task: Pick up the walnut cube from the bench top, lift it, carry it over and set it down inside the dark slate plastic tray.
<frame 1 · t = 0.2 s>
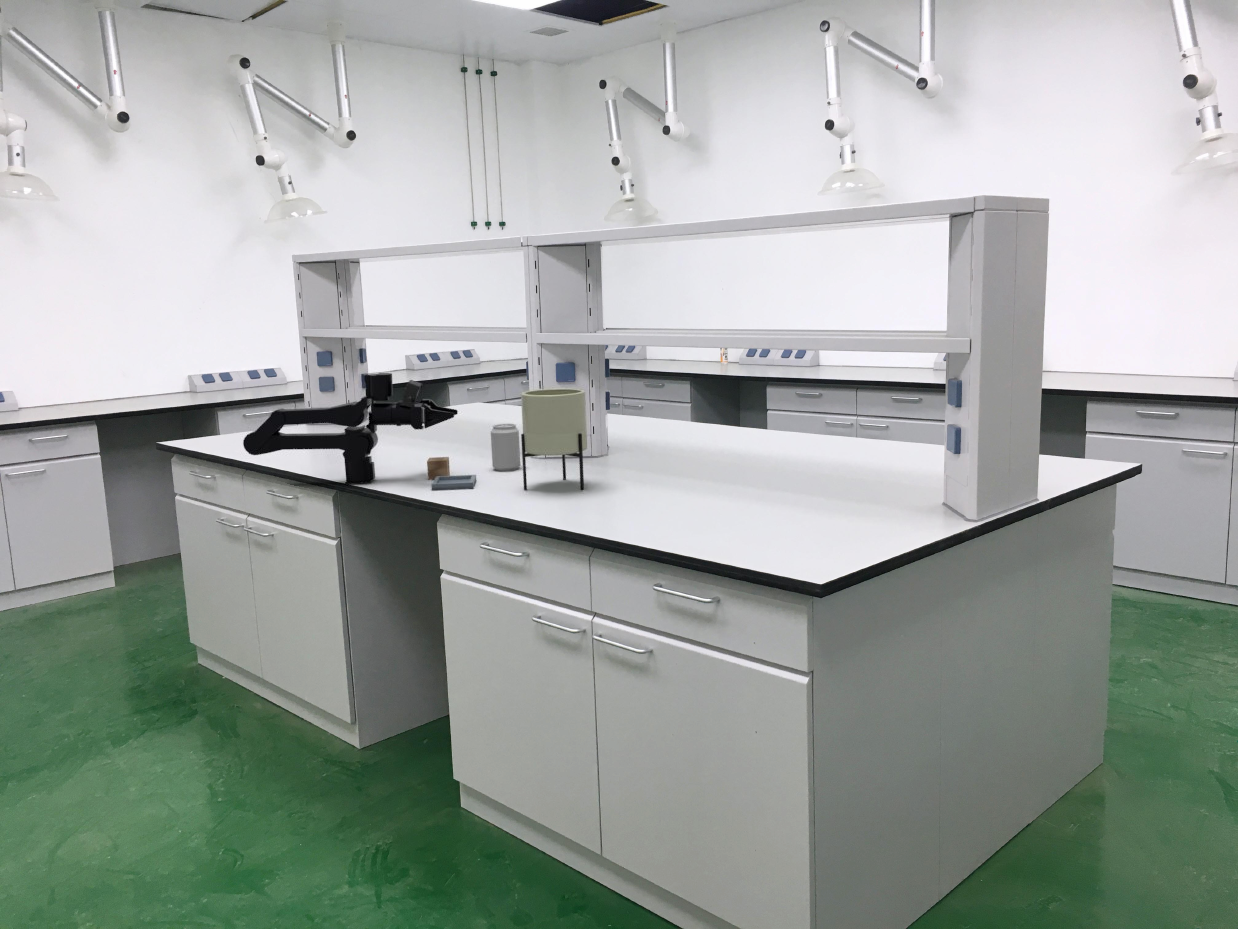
hand: (455, 413, 248), 17 cm above the table, tool horizontal, fingers open, 9 cm apart
cube: (439, 478, 252), on the table
tray: (454, 485, 241), on the table
planter: (555, 487, 236), on the table
can: (506, 469, 261), on the table
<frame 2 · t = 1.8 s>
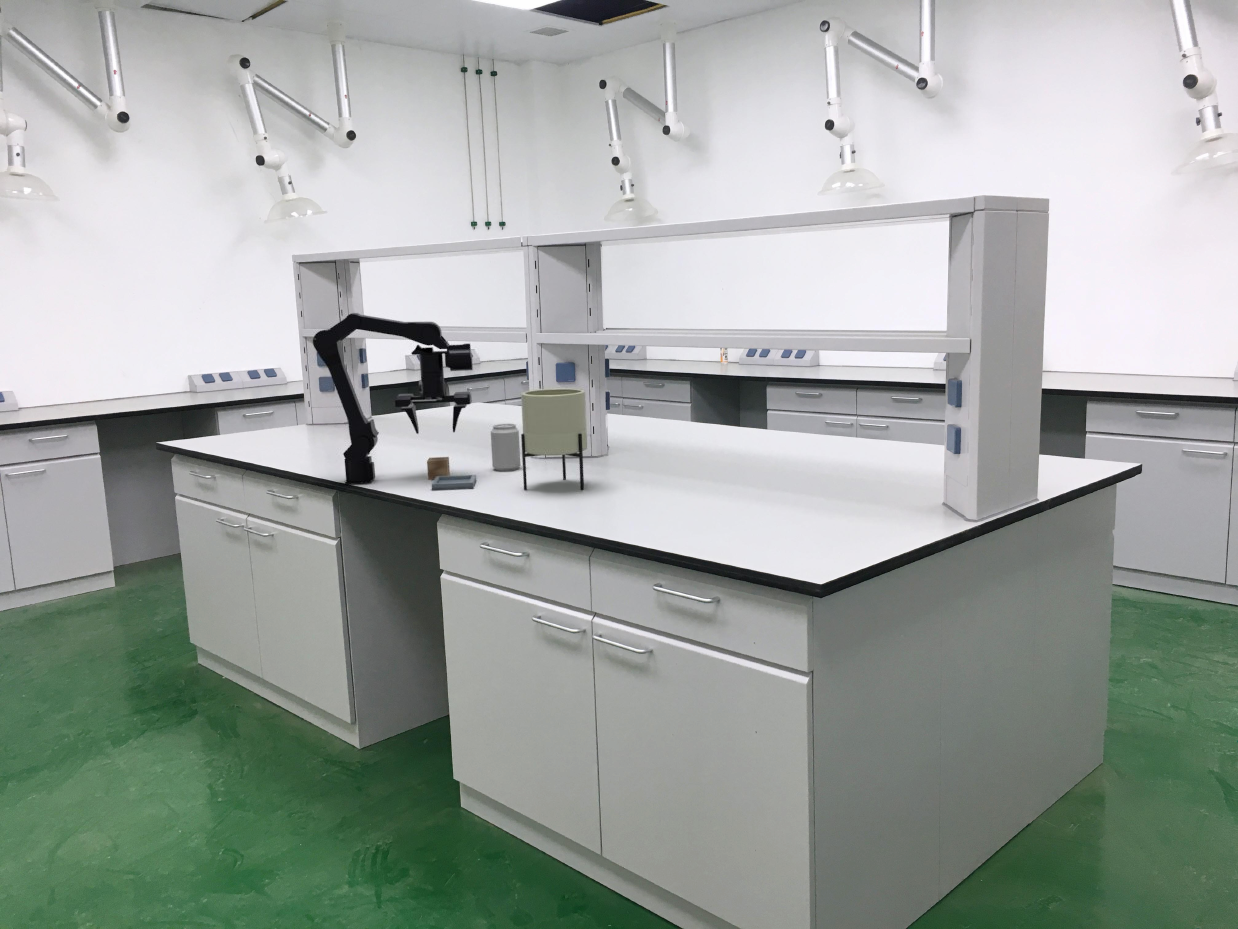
hand: (435, 432, 249), 12 cm above the table, tool pointing down, fingers open, 9 cm apart
nothing on the table moved.
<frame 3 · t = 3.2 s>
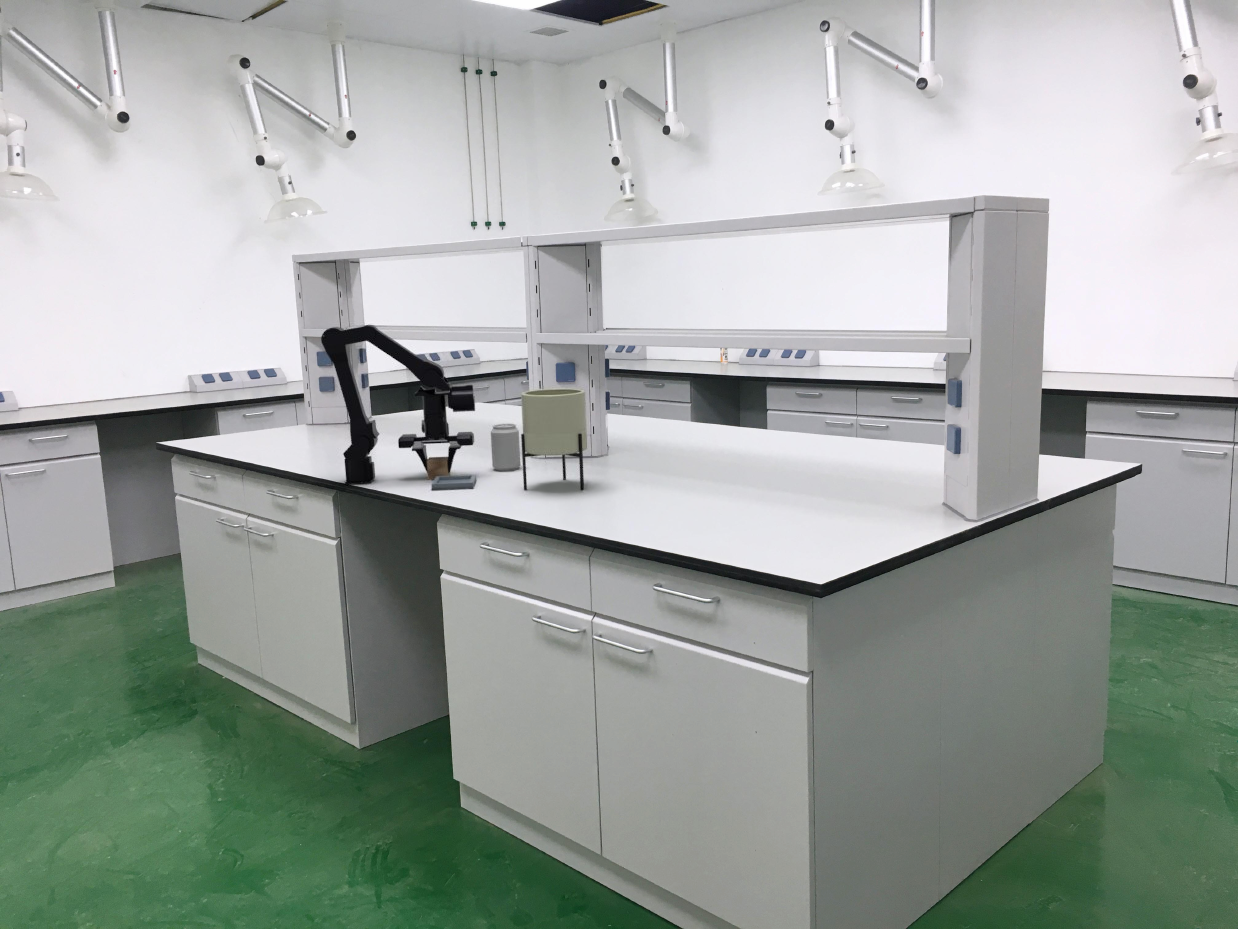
hand: (438, 472, 251), 1 cm above the table, tool pointing down, fingers closed on cube, 5 cm apart
cube: (439, 477, 252), on the table, touching gripper
everything else where it was.
when the fingers open (3 cm above the table, at t = 7.6 s): cube stays where it is, resting on tray.
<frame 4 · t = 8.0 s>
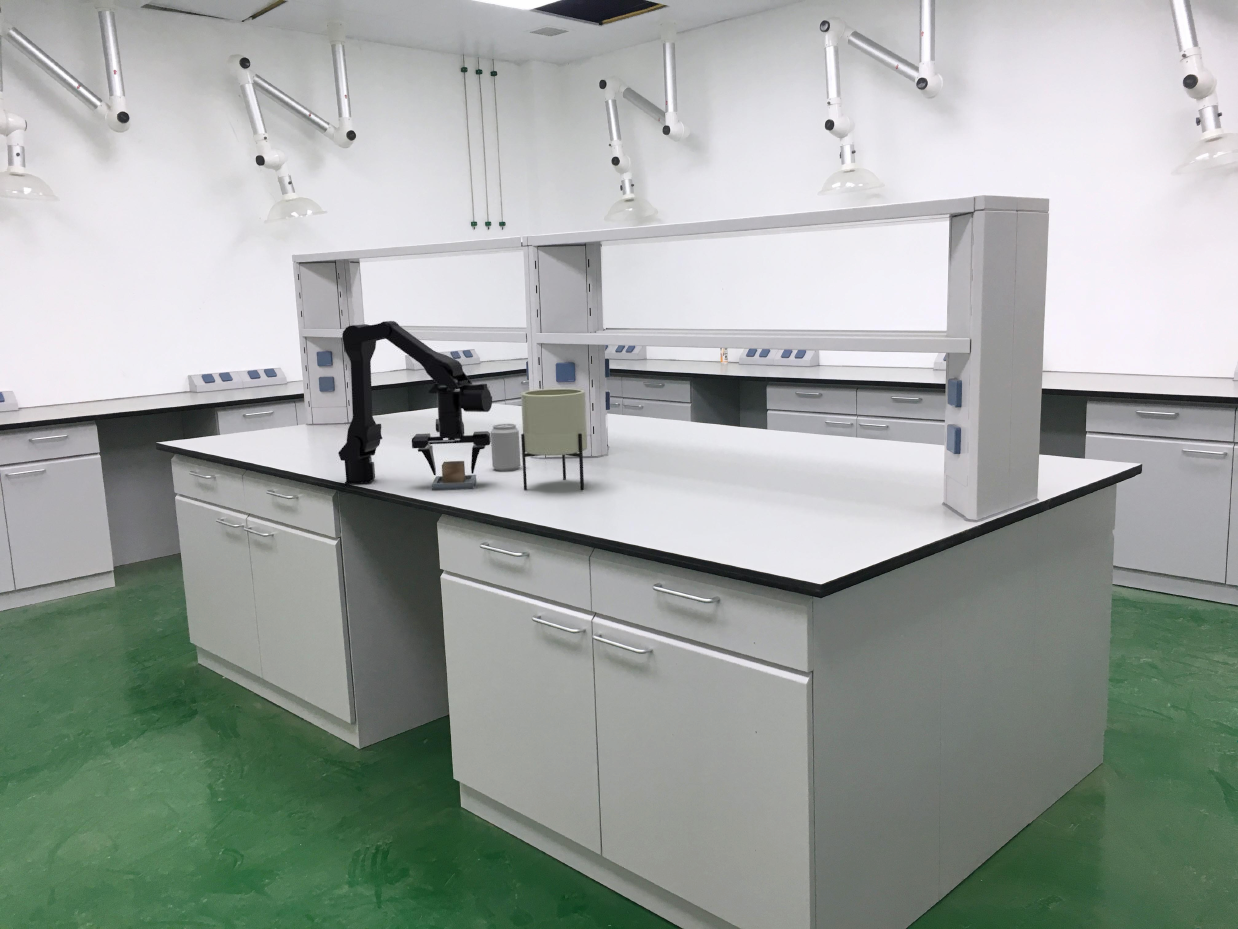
hand: (453, 474, 241), 3 cm above the table, tool pointing down, fingers open, 9 cm apart
cube: (454, 482, 241), point 1 cm above the table, touching tray
everything else where it was.
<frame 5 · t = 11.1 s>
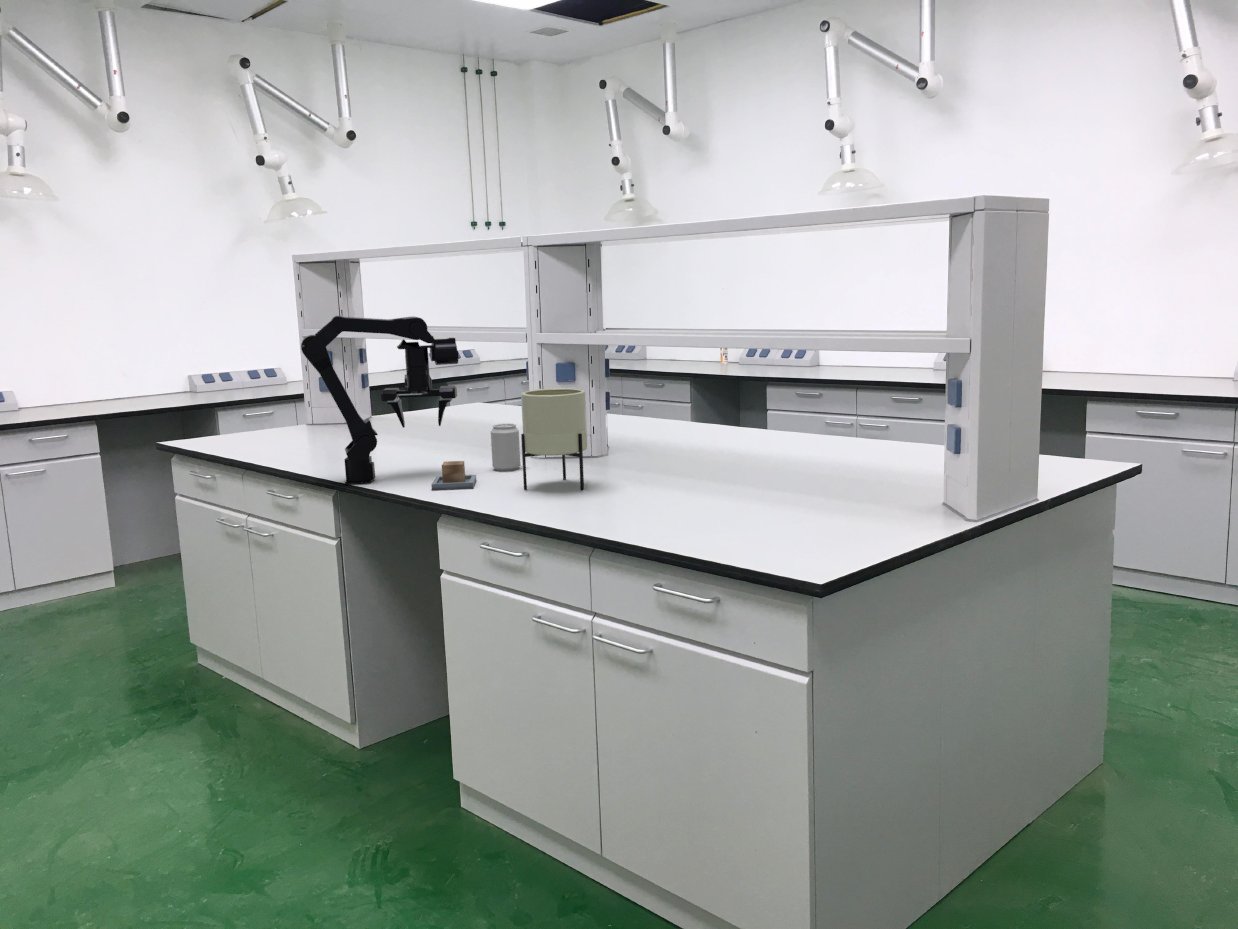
hand: (421, 426, 252), 13 cm above the table, tool pointing down, fingers open, 9 cm apart
nothing on the table moved.
at the end: cube 0.1 cm off-centre on the tray, point 0.6 cm above the tray's base; cube tilted 0°; the gripper is holding nothing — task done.
